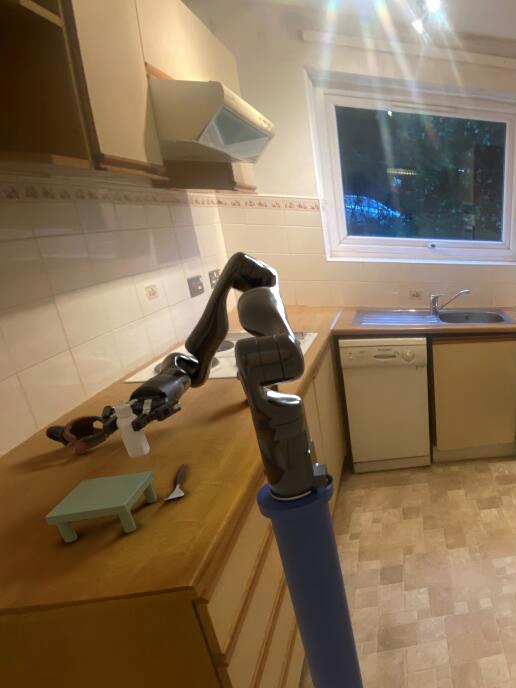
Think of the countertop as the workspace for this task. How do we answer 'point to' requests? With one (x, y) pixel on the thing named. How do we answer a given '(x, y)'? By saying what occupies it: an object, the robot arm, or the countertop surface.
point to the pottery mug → (79, 433)
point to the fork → (177, 491)
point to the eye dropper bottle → (130, 431)
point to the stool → (102, 501)
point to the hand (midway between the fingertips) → (121, 428)
